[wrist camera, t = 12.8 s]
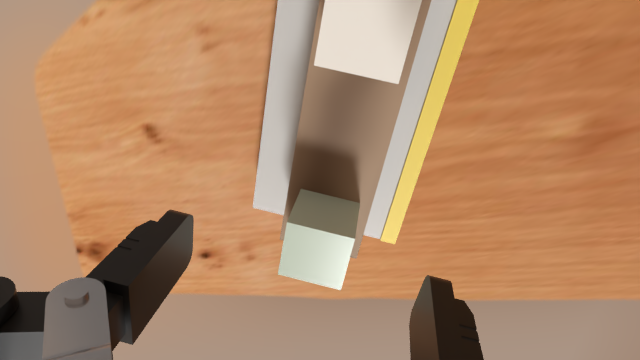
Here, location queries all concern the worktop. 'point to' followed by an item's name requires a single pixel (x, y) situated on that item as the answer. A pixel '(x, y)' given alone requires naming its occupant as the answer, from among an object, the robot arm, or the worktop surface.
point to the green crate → (319, 239)
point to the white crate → (366, 37)
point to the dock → (411, 125)
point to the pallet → (346, 131)
